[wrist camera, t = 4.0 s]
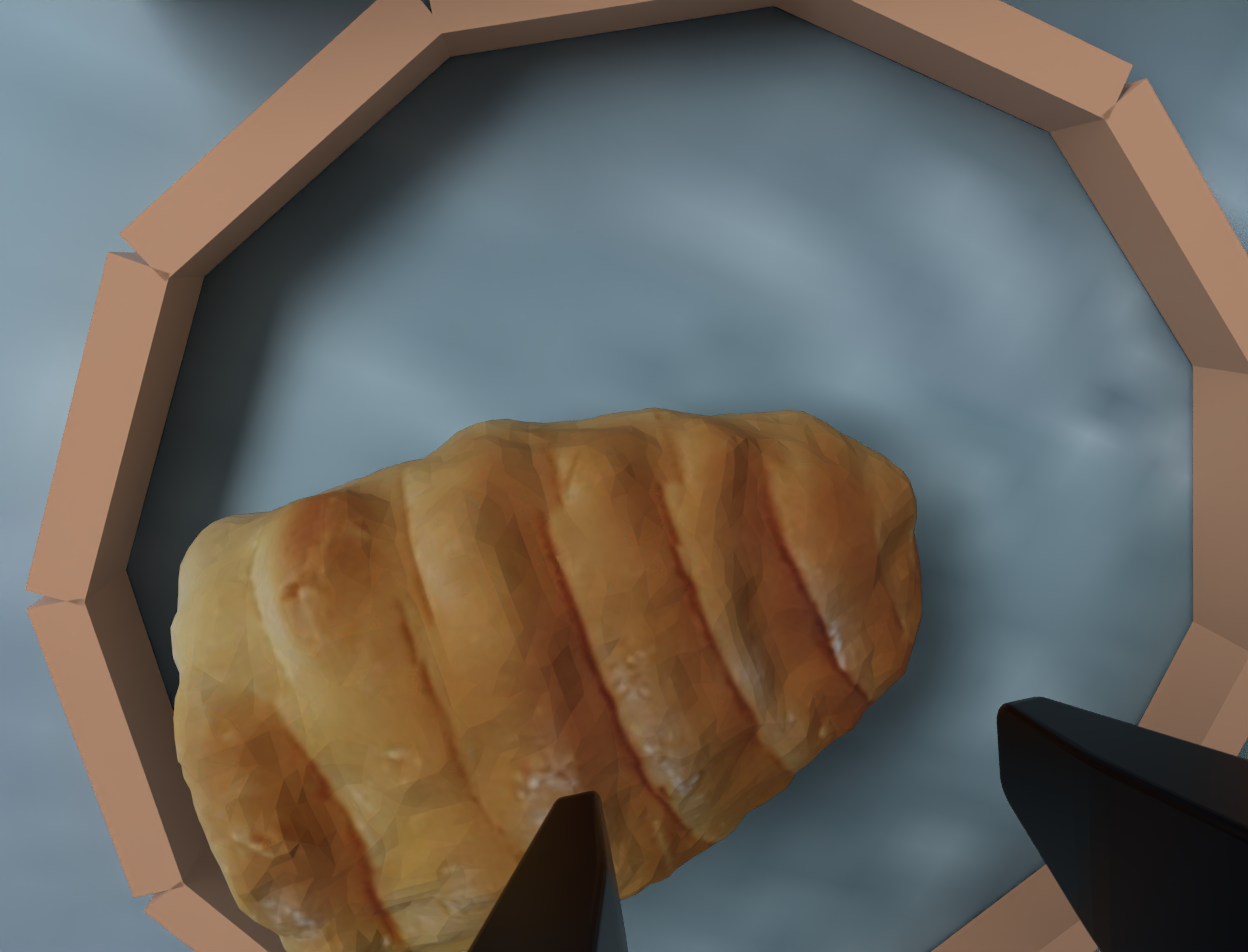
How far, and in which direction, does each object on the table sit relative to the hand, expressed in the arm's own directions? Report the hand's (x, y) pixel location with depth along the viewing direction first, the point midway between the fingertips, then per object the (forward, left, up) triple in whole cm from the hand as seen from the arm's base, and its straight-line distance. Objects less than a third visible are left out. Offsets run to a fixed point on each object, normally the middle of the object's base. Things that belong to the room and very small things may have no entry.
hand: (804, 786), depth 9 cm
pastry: (-2, 0, -6) cm, 6 cm away
